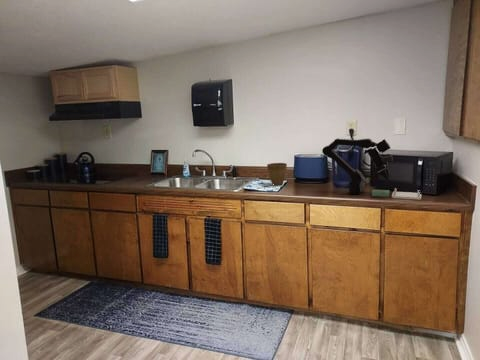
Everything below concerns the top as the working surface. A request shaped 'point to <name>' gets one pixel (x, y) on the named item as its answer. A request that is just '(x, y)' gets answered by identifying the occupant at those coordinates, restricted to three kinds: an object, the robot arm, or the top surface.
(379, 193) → the circuit board
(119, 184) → the top surface
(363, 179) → the mechanical component
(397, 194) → the chassis plate
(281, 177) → the plant pot
